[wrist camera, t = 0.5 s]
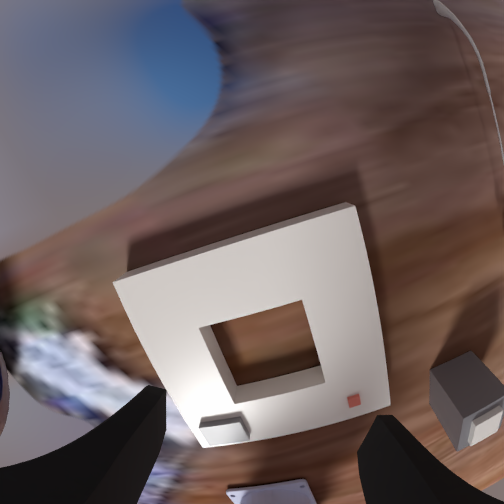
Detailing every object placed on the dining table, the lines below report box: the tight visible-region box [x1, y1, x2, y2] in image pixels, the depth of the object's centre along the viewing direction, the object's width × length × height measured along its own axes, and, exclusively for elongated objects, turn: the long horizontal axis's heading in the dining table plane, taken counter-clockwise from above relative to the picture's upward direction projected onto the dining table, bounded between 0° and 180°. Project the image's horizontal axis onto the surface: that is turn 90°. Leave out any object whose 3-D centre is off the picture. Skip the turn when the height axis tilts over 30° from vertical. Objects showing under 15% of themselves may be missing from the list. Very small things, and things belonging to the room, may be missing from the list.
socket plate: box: [113, 202, 391, 448], centre depth 18 cm, size 14×14×3 cm
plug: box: [429, 351, 504, 451], centre depth 17 cm, size 4×4×7 cm
